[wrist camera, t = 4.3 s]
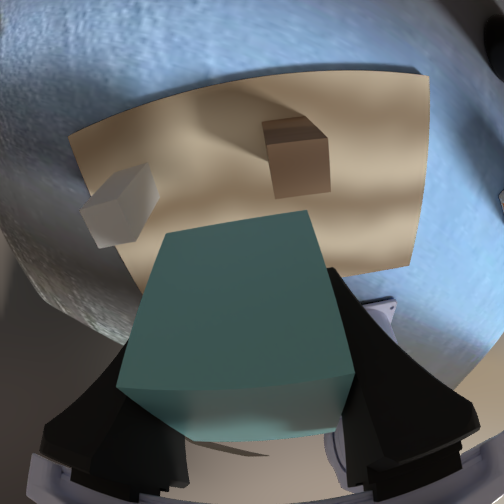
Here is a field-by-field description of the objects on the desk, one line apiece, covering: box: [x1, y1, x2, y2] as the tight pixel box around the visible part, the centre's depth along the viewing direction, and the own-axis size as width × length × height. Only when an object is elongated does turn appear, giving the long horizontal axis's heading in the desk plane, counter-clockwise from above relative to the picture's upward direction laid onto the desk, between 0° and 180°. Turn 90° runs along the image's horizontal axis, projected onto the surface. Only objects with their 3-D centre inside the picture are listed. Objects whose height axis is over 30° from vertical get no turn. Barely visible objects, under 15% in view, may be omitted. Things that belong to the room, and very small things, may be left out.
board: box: [68, 70, 430, 295], centre depth 18 cm, size 16×24×1 cm, turn 100°
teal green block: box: [116, 210, 355, 442], centre depth 9 cm, size 5×5×6 cm
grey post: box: [79, 162, 160, 248], centre depth 15 cm, size 3×3×5 cm
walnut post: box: [262, 116, 331, 199], centre depth 13 cm, size 3×3×5 cm
